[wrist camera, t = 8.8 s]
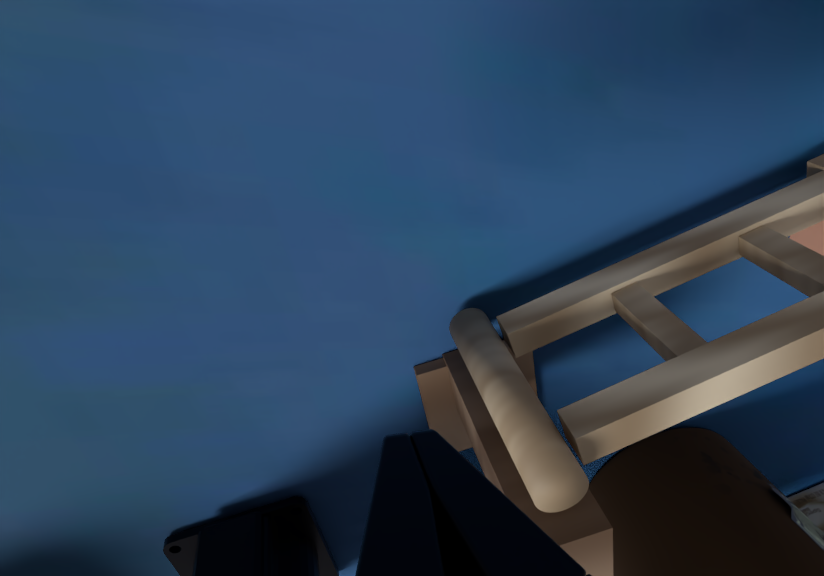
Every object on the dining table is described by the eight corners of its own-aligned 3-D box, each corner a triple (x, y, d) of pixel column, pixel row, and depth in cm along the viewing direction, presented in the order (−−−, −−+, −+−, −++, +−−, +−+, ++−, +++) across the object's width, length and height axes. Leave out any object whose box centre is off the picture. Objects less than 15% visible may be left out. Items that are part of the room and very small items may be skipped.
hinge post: (535, 417, 26) (650, 612, 18) (434, 448, 26) (506, 663, 18) (525, 329, 24) (655, 513, 16) (412, 363, 23) (486, 569, 15)
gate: (456, 347, 23) (541, 520, 16) (444, 318, 22) (527, 486, 15) (834, 179, 23) (1093, 274, 16) (835, 142, 22) (1110, 226, 15)
